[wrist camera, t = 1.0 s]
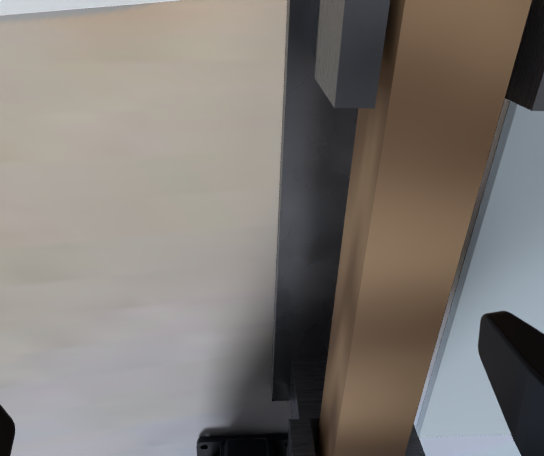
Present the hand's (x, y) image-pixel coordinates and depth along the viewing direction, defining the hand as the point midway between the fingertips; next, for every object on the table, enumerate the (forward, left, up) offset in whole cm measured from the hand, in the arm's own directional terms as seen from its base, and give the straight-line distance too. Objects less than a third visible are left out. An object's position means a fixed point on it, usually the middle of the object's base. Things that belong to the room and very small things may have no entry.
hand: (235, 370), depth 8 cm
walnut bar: (-5, -5, -9) cm, 11 cm away
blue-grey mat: (-8, -15, -14) cm, 22 cm away
